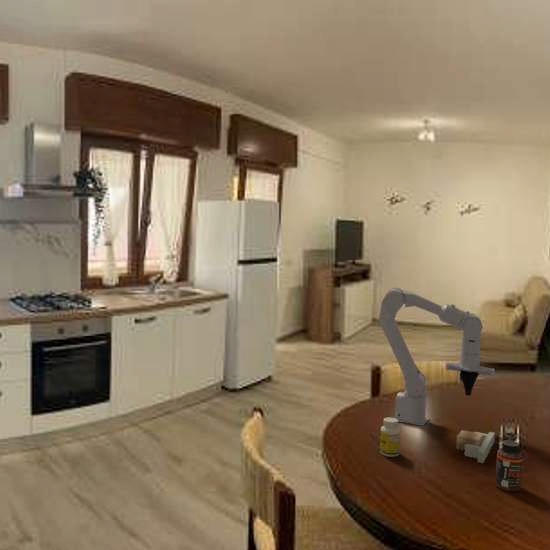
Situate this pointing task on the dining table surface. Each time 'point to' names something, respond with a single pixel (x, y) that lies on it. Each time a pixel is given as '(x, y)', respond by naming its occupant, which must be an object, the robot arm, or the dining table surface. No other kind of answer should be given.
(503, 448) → the supplement bottle
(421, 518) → the dining table surface
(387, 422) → the supplement bottle
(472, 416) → the dining table surface
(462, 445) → the maple block
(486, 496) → the dining table surface
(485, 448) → the bracket
